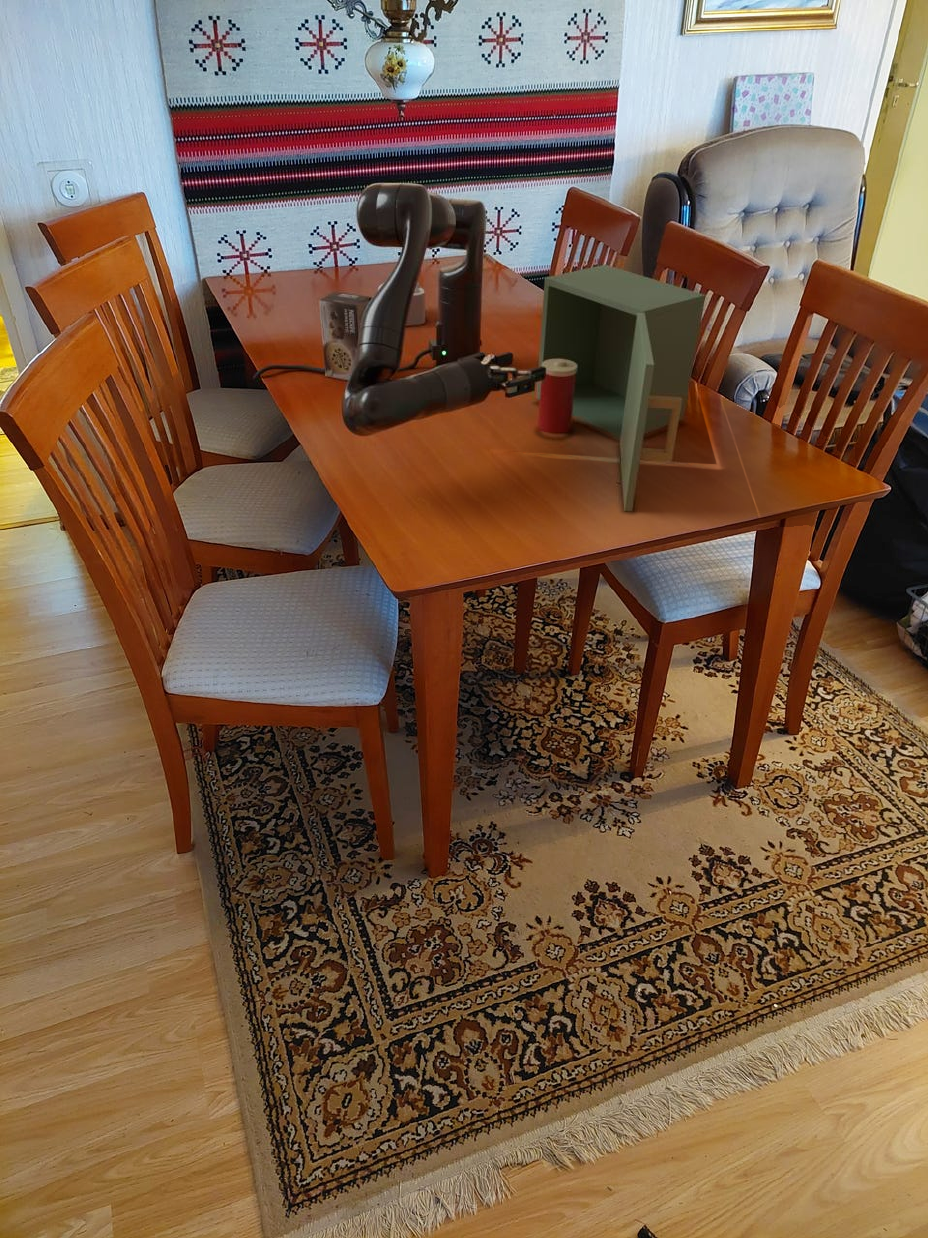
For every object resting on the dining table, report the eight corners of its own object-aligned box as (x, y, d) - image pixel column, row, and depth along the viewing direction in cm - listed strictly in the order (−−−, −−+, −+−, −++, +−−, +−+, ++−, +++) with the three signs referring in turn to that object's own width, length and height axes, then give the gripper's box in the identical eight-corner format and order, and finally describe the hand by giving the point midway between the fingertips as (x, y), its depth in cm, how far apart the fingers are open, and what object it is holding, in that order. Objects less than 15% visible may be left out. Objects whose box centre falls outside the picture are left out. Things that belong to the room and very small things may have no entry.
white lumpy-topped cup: (389, 328, 212) (388, 291, 207) (371, 312, 222) (370, 276, 216) (429, 323, 216) (429, 286, 210) (410, 308, 225) (409, 272, 220)
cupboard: (625, 445, 161) (644, 310, 147) (535, 403, 176) (544, 277, 162) (682, 424, 170) (705, 294, 155) (591, 385, 185) (605, 264, 170)
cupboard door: (654, 448, 160) (676, 314, 146) (664, 513, 141) (690, 366, 126) (619, 446, 161) (637, 312, 147) (624, 511, 141) (645, 364, 127)
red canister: (536, 438, 163) (541, 365, 155) (537, 424, 168) (542, 353, 160) (570, 440, 163) (577, 367, 154) (571, 426, 168) (578, 355, 160)
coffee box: (376, 373, 188) (373, 296, 178) (361, 383, 183) (357, 304, 173) (339, 366, 191) (334, 290, 181) (323, 376, 186) (317, 298, 176)
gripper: (483, 377, 138) (558, 355, 146) (428, 351, 147) (502, 332, 155) (481, 422, 142) (554, 398, 151) (428, 394, 151) (500, 373, 159)
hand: (527, 364), depth 153 cm, fingers open, 8 cm apart
